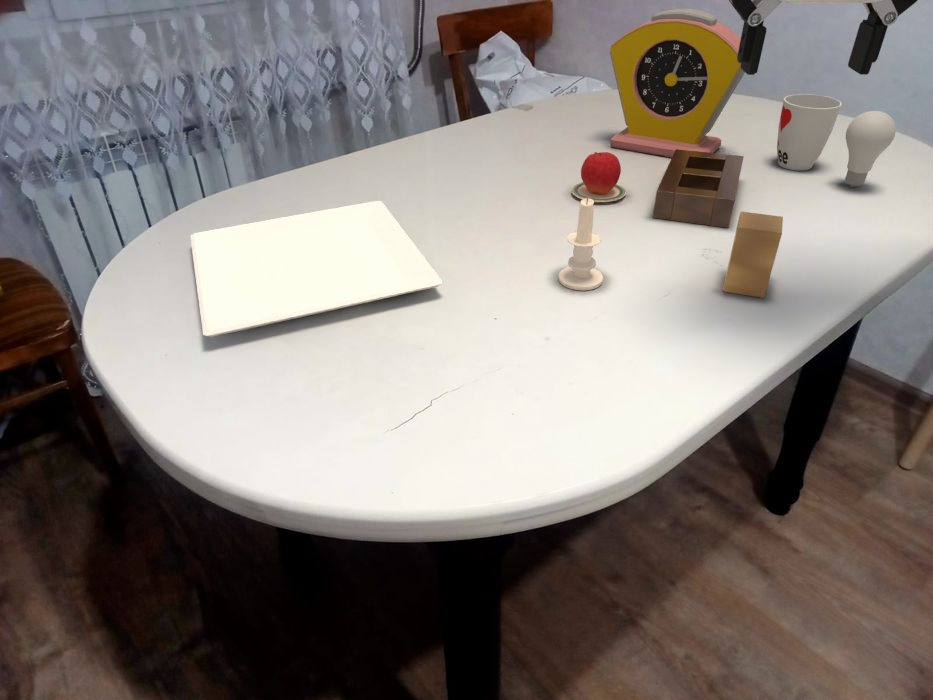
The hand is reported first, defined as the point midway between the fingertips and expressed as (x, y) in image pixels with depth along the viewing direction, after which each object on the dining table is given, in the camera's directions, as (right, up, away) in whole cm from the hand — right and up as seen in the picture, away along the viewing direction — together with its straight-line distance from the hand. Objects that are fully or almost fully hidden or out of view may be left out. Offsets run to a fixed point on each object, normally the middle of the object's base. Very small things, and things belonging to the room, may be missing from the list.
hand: (802, 71), depth 60 cm
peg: (+1, -18, +16) cm, 24 cm away
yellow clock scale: (+4, +10, +54) cm, 55 cm away
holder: (+3, -3, +36) cm, 36 cm away
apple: (-11, -2, +38) cm, 40 cm away
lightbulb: (+27, -1, +38) cm, 47 cm away
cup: (+22, +4, +46) cm, 51 cm away
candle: (-17, -17, +18) cm, 30 cm away
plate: (-50, -16, +22) cm, 57 cm away
